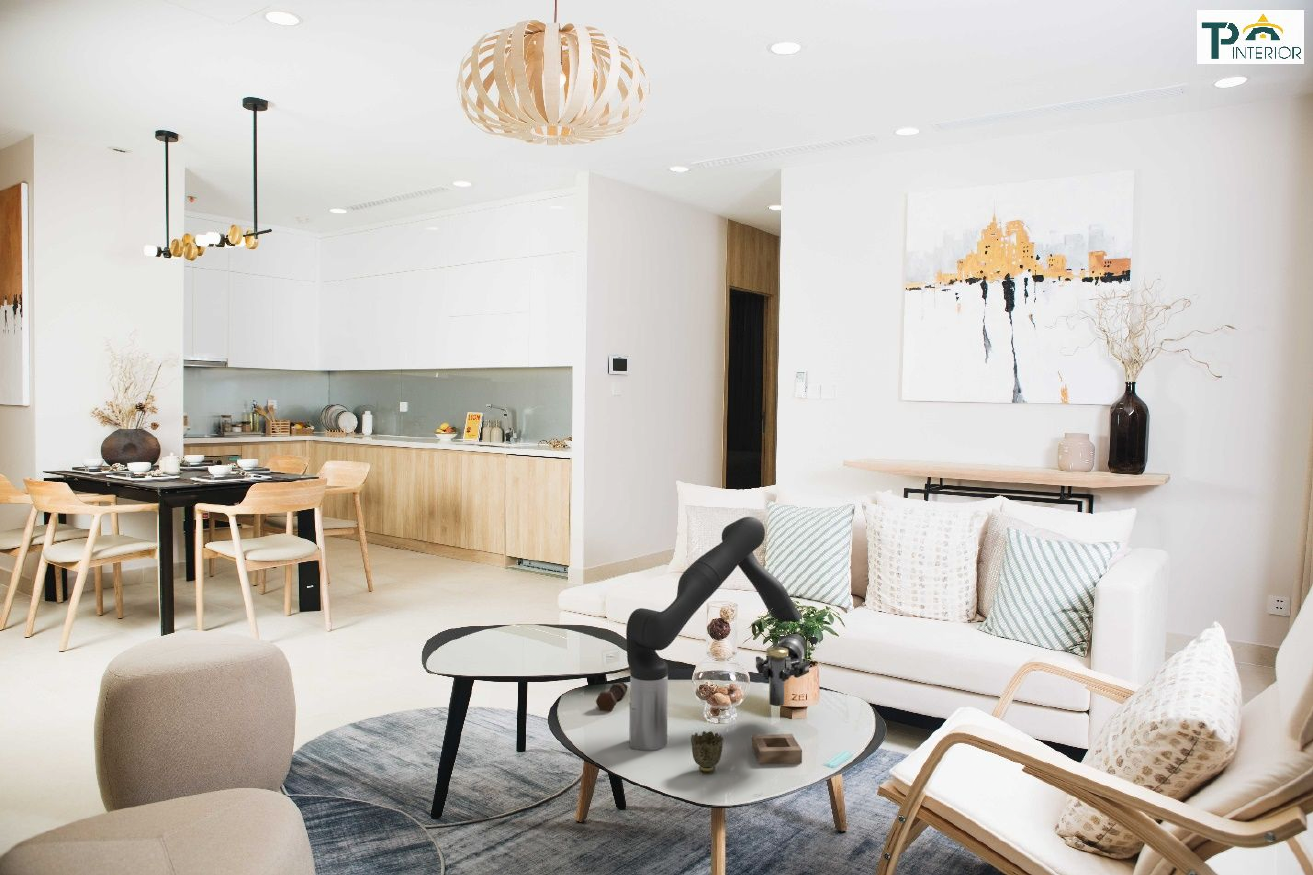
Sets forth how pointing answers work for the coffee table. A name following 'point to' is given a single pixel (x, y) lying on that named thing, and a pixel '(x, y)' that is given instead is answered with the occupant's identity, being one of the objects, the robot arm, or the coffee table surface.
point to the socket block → (776, 749)
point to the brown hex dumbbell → (611, 697)
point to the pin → (776, 674)
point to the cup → (707, 750)
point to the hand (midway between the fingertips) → (774, 676)
